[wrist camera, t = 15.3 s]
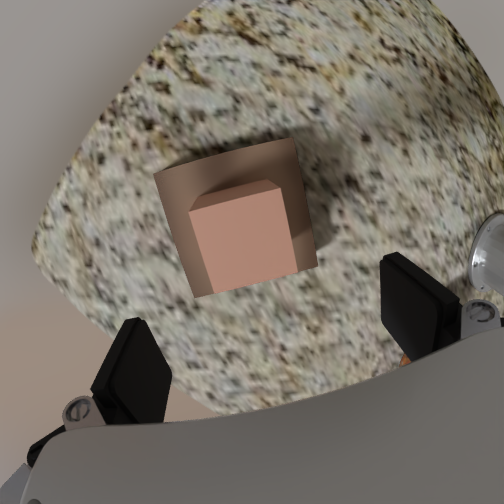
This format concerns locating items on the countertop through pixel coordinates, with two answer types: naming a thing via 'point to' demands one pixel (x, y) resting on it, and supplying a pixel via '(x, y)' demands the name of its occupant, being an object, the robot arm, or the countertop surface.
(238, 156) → the base
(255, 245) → the cube
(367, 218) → the countertop surface
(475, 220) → the countertop surface
